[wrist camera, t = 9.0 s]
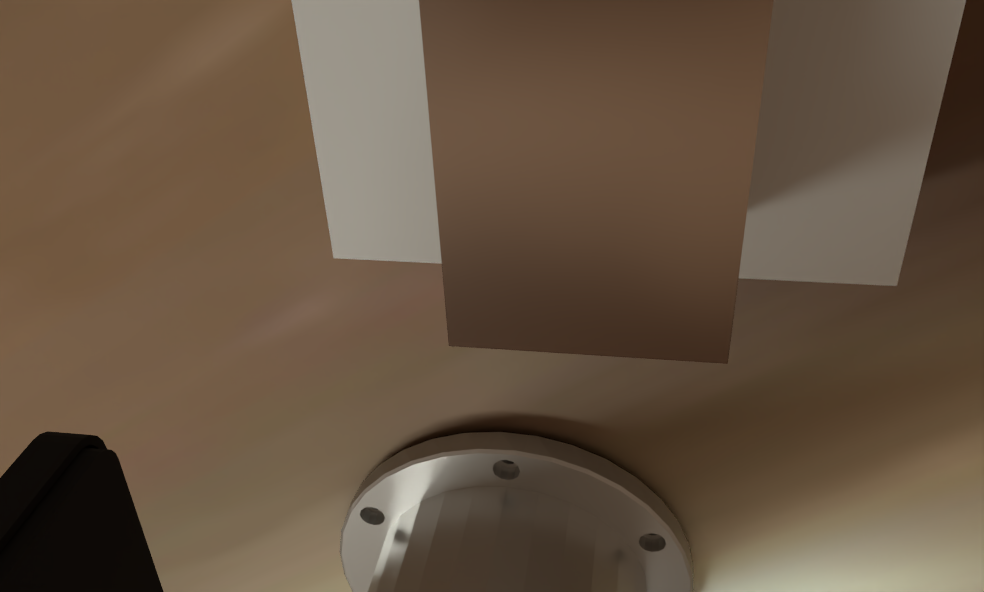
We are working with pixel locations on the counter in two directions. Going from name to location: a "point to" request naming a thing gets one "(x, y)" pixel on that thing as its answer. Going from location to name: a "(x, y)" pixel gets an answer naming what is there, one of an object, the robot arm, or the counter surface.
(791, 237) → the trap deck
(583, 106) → the walnut bar
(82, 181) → the counter surface
